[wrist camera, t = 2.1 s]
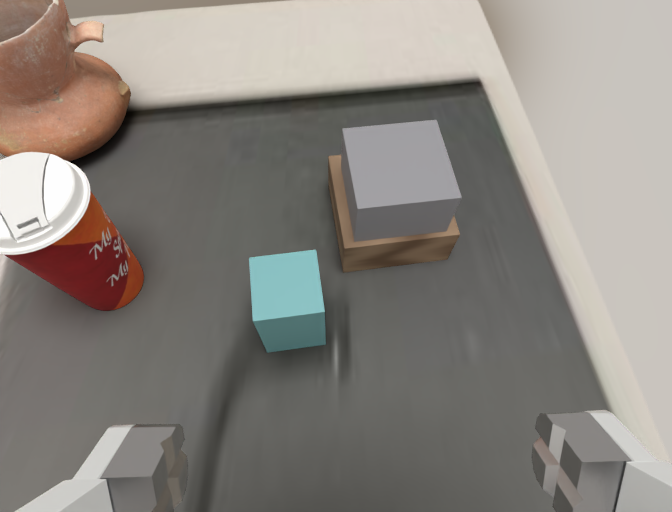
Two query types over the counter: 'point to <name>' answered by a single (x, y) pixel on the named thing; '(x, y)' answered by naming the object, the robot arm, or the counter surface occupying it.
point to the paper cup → (64, 231)
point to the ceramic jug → (54, 83)
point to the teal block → (287, 300)
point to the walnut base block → (385, 249)
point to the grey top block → (398, 180)
